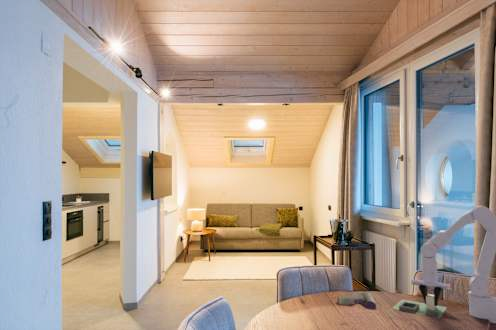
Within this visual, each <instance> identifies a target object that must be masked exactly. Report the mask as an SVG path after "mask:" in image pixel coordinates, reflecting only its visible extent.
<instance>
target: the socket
mask: <svg viewBox="0 0 496 330" xmlns="http://www.w3.org/2000/svg"><path fill="white" fill-rule="evenodd" d="M405 306H408V307H405ZM409 307H414V308H409ZM418 309H419V304H414V303H409V302H403V303H402V304H401V305H400V306H399V310H398V311H401V310H402V312H406V311H408V313H411V312H413V313H412V314H416V311H417V310H418Z"/></svg>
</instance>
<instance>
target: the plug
mask: <svg viewBox="0 0 496 330" xmlns="http://www.w3.org/2000/svg"><path fill="white" fill-rule="evenodd" d="M426 309H431V310H435V309H436V306H435V297H434V294H431V293H427V295H426Z"/></svg>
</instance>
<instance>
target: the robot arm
mask: <svg viewBox="0 0 496 330" xmlns="http://www.w3.org/2000/svg"><path fill="white" fill-rule="evenodd" d="M476 222H477V223H479V224H480V225H482V227H483V228H484V230H485V231H486V232H485V236H484V239H483V243H482V246H481V249H480V252H479V257H478V261H477V263H476V267H475V270H474V273H473V275H472V276H471V277H469V280H468V284H469V291H468V307H469V315H470V316H472V317H474V318H477V319H483V320H488V323H491V324H496V296H495V297H494V296H491V294H490V293H489V292H490V287H489V280H490V273H491V271H492V266H493V263H494V259H495V255H496V214H495V213H494V212H493V211H492V210H491V209H490V208H488V207H487V206H484V205H477V206H475V207H474V208H473V209H471V210H469V211H467V212H465V213H464V214H463V215H461V216H460V217H459V218H457V219H456V221H455V222H454V223H452V224H451V225H450V226H449V227H448V228H447V229H445V230H442V229H441V230H439V231H438V230H436V231H435V232H434V235H433V236H432V237H430V238H429V239H426V242H425V243H423V244H422V245H421V247H420V253H421V272H422V279H416V278H415V279H414V278H412V279H411V280H410V281H411V283H410V285H412V286H413V285H414V286H415V285H416V286H419V287H418V289H419V291H420V293H421V295H422V298H423V301H424V303H425V304H426V295H428V289H429V288H433V293H434V294H433V295H434V297H435V306H439V305H438V303H439V298H440V295H441V293H442V290H447V291H451V284H449V283H444V282H439V279H438V278H439V277H438V276H439V275H438V261H437V251H441V250H443V248H446V246H447V245H449V244H450V243H451V242H452V241H453V240H452V239H453V236H454V235H455V234H456V233H458V232H459V231H460V230H462V229H463V228H465V227H466V226H467V225H471V224H476ZM428 287H429V288H428Z"/></svg>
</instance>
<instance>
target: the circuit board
mask: <svg viewBox="0 0 496 330" xmlns="http://www.w3.org/2000/svg"><path fill="white" fill-rule="evenodd" d="M403 302H409V303H414V304H419V309H418V310H417V311H416V313H415V314H417V315H422V316H426V317H427V316H428V317H432V318H438V319H441V317H442V316H443V315H444V313H445V312H446V310H447V308H448V307H447V306H443V305H437V306H436V309H435V310H431V309H426V304H425V302H420V301H414V300H408V299H401V300H399V301H398V302H397V303H396V304H395V305H394V306H392V307H391V309H393V310H397V311H402V310H399V306H400V305H401V304H402V303H403ZM405 307H408V306H405ZM409 308H414V307H409ZM402 312H403V311H402ZM405 312H408V311H405ZM408 313H409V312H408ZM410 313H411V314H414V313H413V312H410Z"/></svg>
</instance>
